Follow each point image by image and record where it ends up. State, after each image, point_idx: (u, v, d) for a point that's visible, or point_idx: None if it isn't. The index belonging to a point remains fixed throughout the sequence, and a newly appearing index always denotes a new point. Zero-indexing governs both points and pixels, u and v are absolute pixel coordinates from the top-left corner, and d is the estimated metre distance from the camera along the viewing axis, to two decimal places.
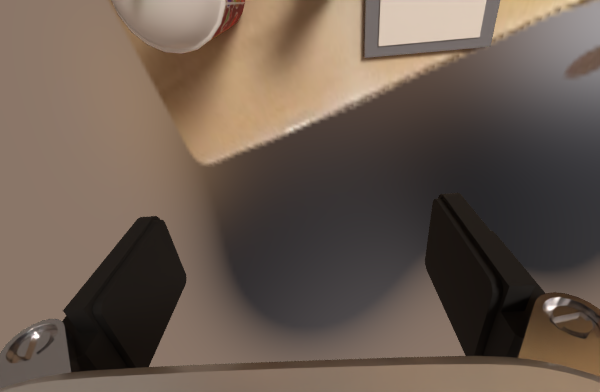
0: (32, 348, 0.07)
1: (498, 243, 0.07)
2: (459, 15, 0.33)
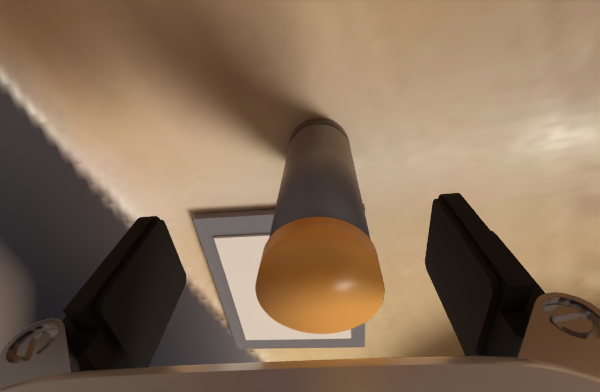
0: (32, 348, 0.07)
1: (498, 243, 0.07)
2: (268, 318, 0.25)
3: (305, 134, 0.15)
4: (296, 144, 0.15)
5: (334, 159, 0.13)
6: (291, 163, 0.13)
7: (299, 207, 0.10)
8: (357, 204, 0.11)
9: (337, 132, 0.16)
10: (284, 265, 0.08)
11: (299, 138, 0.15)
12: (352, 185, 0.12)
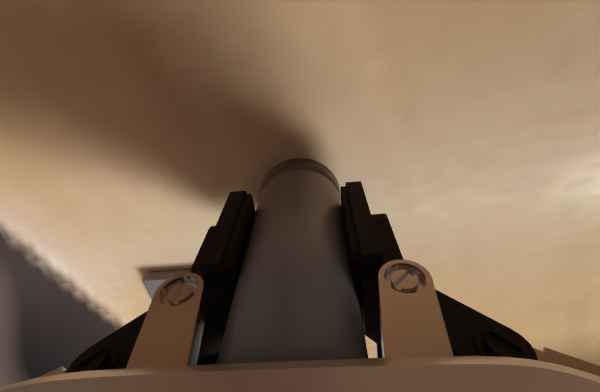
0: (177, 296, 0.08)
1: (371, 221, 0.09)
2: None
3: (279, 186, 0.11)
4: (266, 202, 0.11)
5: (317, 238, 0.08)
6: (255, 240, 0.09)
7: None
8: (353, 336, 0.06)
9: (323, 181, 0.12)
10: None
11: (271, 192, 0.11)
12: (344, 289, 0.07)
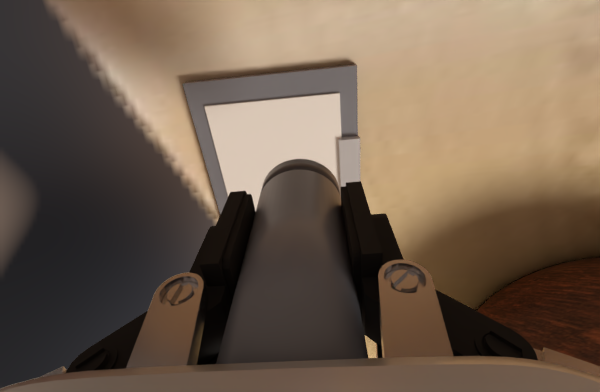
0: (177, 296, 0.08)
1: (371, 221, 0.09)
2: None
3: (279, 186, 0.11)
4: (266, 202, 0.11)
5: (318, 239, 0.08)
6: (255, 240, 0.09)
7: None
8: (353, 336, 0.06)
9: (323, 181, 0.12)
10: None
11: (271, 192, 0.11)
12: (344, 290, 0.07)
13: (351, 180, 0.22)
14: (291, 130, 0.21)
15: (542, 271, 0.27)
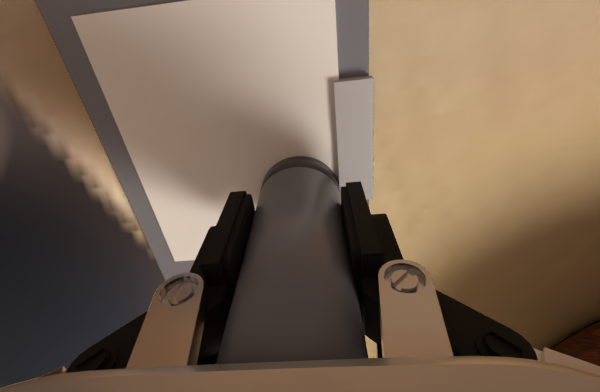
0: (177, 296, 0.08)
1: (371, 221, 0.09)
2: (205, 216, 0.15)
3: (279, 184, 0.11)
4: (266, 200, 0.11)
5: (317, 236, 0.09)
6: (255, 238, 0.09)
7: None
8: (352, 332, 0.07)
9: (322, 178, 0.12)
10: None
11: (270, 190, 0.11)
12: (344, 286, 0.07)
13: (357, 160, 0.13)
14: (244, 65, 0.11)
15: None
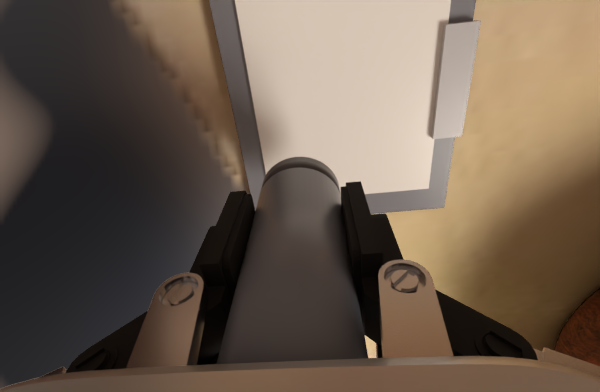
0: (177, 296, 0.08)
1: (371, 221, 0.09)
2: (306, 156, 0.16)
3: (278, 185, 0.11)
4: (265, 201, 0.11)
5: (316, 236, 0.09)
6: (254, 239, 0.09)
7: None
8: (351, 333, 0.07)
9: (322, 179, 0.12)
10: None
11: (270, 191, 0.11)
12: (343, 287, 0.07)
13: (454, 99, 0.14)
14: (369, 9, 0.13)
15: None
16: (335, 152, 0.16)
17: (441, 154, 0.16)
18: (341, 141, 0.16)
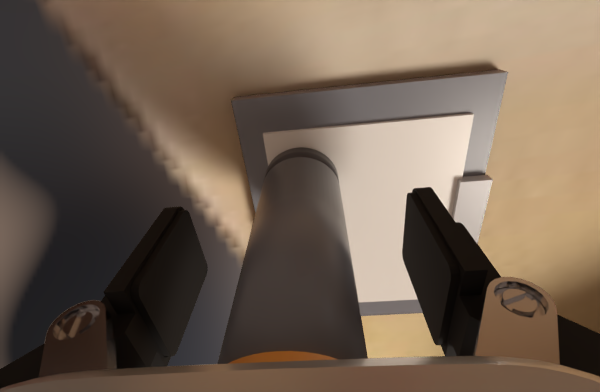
0: (76, 327, 0.07)
1: (460, 232, 0.08)
2: None
3: (281, 173, 0.12)
4: (269, 187, 0.12)
5: (315, 217, 0.09)
6: (259, 220, 0.10)
7: (259, 320, 0.06)
8: (347, 298, 0.07)
9: (321, 167, 0.12)
10: None
11: (273, 178, 0.12)
12: (340, 260, 0.08)
13: None
14: (389, 167, 0.14)
15: None
16: (353, 270, 0.17)
17: None
18: (360, 262, 0.17)
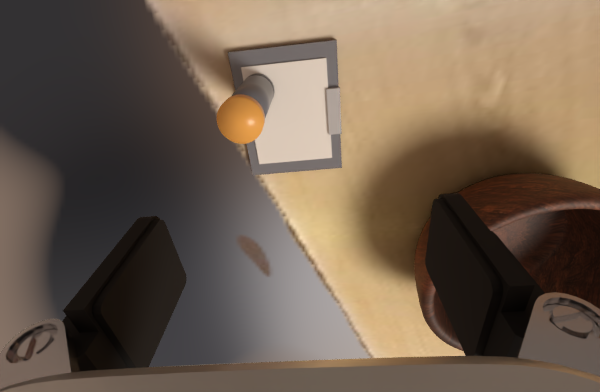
0: (32, 348, 0.07)
1: (498, 243, 0.07)
2: (274, 142, 0.36)
3: (247, 79, 0.31)
4: (242, 83, 0.30)
5: (255, 84, 0.28)
6: None
7: (234, 95, 0.25)
8: (260, 97, 0.26)
9: (264, 78, 0.31)
10: (225, 108, 0.24)
11: (244, 81, 0.31)
12: (260, 92, 0.27)
13: (335, 117, 0.34)
14: (296, 83, 0.33)
15: None
16: (287, 140, 0.36)
17: (335, 141, 0.36)
18: (289, 135, 0.36)
